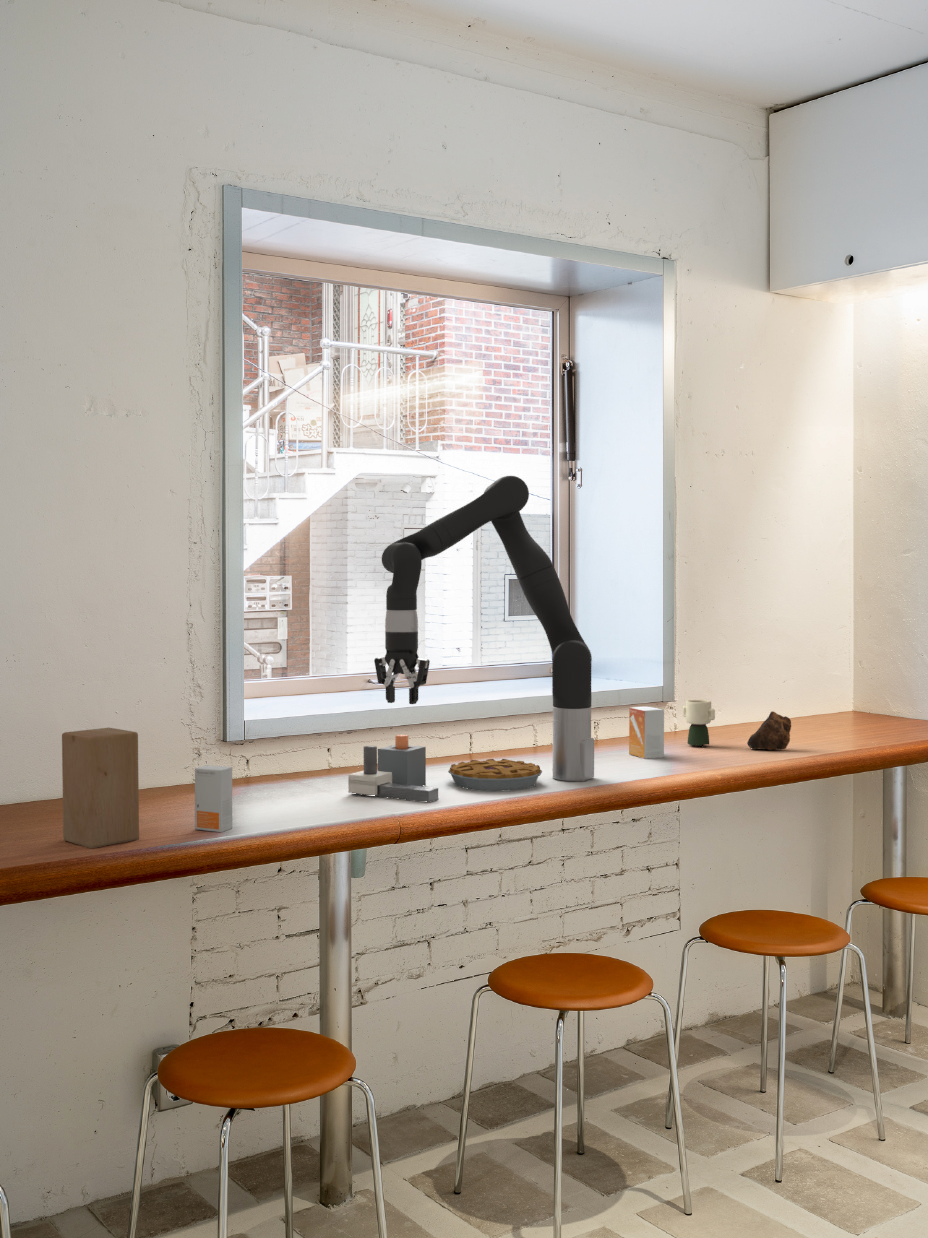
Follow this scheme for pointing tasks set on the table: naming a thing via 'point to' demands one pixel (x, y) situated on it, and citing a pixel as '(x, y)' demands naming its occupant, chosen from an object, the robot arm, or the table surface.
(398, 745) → the button
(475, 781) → the pie
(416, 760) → the grey cube-like block
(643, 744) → the small box
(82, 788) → the wooden block
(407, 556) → the robot arm
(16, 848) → the table surface
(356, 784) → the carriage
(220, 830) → the skincare box
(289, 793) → the table surface
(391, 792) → the rail
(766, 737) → the decorative rock
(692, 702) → the character mug
